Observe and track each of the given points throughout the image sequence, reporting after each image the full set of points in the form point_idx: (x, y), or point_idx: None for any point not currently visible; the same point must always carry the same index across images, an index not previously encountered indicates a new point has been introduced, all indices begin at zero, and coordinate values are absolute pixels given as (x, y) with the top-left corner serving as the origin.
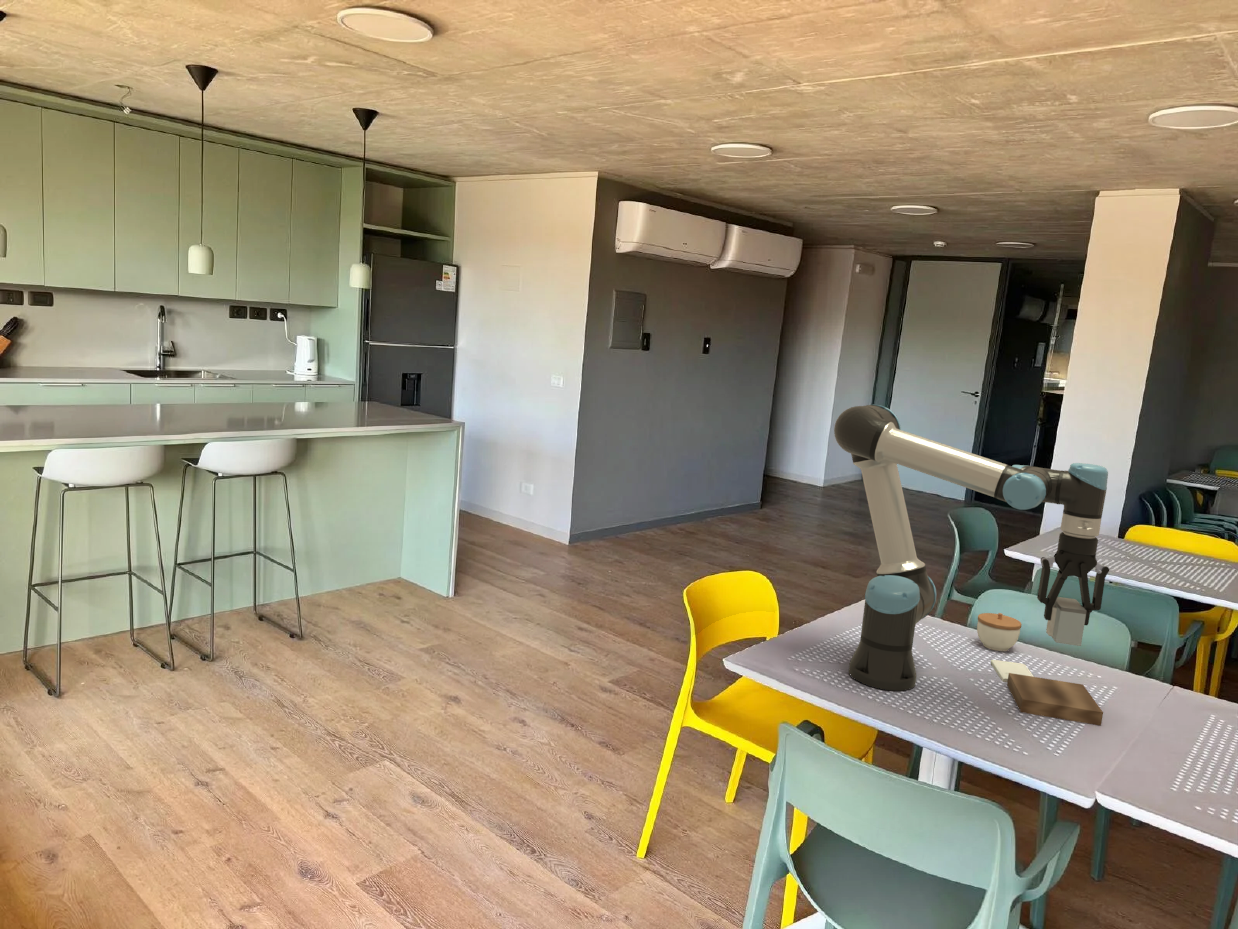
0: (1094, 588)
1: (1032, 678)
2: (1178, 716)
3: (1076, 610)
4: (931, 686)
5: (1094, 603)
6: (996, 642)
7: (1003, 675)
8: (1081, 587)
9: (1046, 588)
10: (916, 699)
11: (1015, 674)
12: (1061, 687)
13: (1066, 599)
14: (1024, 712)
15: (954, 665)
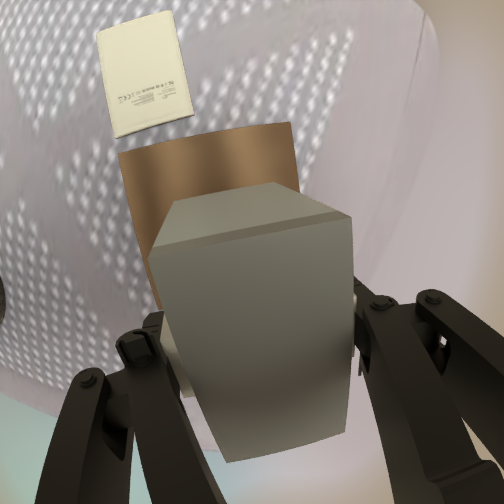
0: (491, 379)
1: (172, 155)
2: (424, 137)
3: (298, 443)
4: (17, 269)
5: (429, 333)
6: None
7: (114, 118)
8: (396, 459)
9: (122, 494)
10: (25, 337)
11: (132, 154)
12: (238, 175)
13: (274, 285)
14: None
15: (29, 112)
